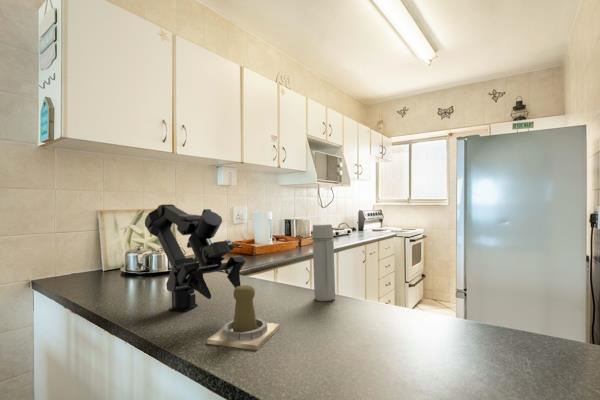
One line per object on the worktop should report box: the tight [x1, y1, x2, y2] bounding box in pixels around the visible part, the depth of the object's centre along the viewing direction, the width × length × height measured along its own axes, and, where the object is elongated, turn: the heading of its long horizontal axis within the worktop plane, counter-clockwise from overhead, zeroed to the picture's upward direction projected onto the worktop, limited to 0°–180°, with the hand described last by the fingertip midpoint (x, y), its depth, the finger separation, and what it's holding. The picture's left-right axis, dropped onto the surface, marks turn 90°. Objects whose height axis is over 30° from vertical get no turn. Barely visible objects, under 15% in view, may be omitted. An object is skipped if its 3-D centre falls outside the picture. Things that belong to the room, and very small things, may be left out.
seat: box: [206, 317, 281, 351], centre depth 76 cm, size 13×13×2 cm
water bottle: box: [311, 223, 336, 302], centre depth 104 cm, size 9×8×25 cm
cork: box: [233, 284, 257, 332], centre depth 77 cm, size 6×6×11 cm
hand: (225, 294), depth 83 cm, fingers open, 9 cm apart
